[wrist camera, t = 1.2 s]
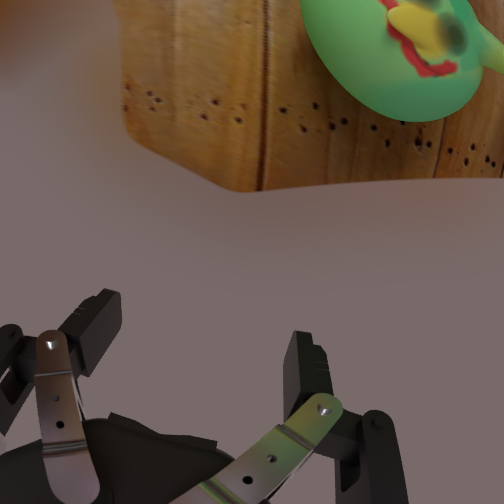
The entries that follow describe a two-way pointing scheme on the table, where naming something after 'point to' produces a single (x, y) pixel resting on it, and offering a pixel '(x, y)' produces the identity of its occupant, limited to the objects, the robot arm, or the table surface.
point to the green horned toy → (403, 53)
